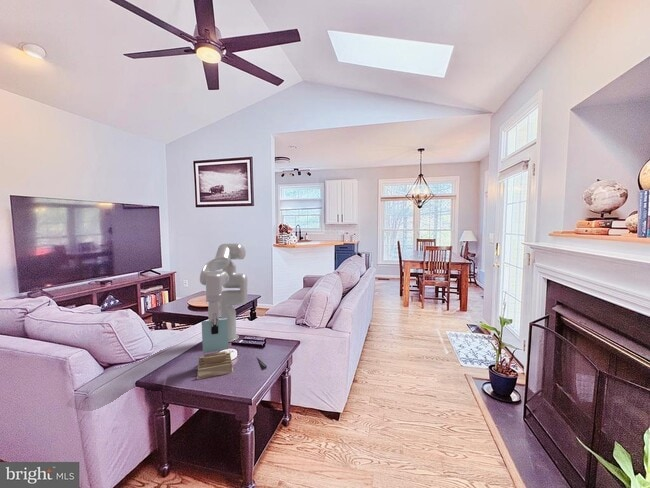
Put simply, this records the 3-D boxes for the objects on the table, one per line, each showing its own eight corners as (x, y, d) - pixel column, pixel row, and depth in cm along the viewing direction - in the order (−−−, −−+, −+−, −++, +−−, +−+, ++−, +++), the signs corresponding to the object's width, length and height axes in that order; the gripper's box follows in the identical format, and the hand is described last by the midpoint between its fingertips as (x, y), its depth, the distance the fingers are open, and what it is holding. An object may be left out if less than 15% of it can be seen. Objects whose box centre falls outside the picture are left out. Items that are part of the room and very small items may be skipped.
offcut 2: (204, 371, 135) (204, 357, 135) (225, 367, 139) (225, 353, 139) (204, 372, 134) (204, 358, 134) (226, 368, 138) (225, 355, 138)
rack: (198, 367, 142) (197, 357, 142) (230, 361, 148) (230, 351, 148) (197, 381, 128) (196, 370, 128) (233, 374, 134) (233, 364, 134)
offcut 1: (204, 368, 138) (204, 354, 138) (225, 364, 142) (225, 351, 142) (204, 369, 137) (204, 355, 137) (225, 365, 141) (225, 352, 141)
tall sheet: (202, 351, 141) (201, 321, 140) (227, 347, 146) (226, 318, 145) (202, 353, 140) (201, 322, 139) (227, 348, 145) (226, 319, 143)
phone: (255, 356, 153) (267, 366, 141) (255, 358, 153) (267, 368, 141) (241, 360, 148) (252, 371, 136) (241, 362, 148) (252, 373, 136)
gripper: (206, 295, 147) (206, 328, 148) (206, 302, 133) (206, 339, 134) (221, 293, 150) (221, 326, 151) (222, 300, 135) (223, 337, 137)
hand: (214, 332), depth 142 cm, fingers closed on tall sheet, 1 cm apart
